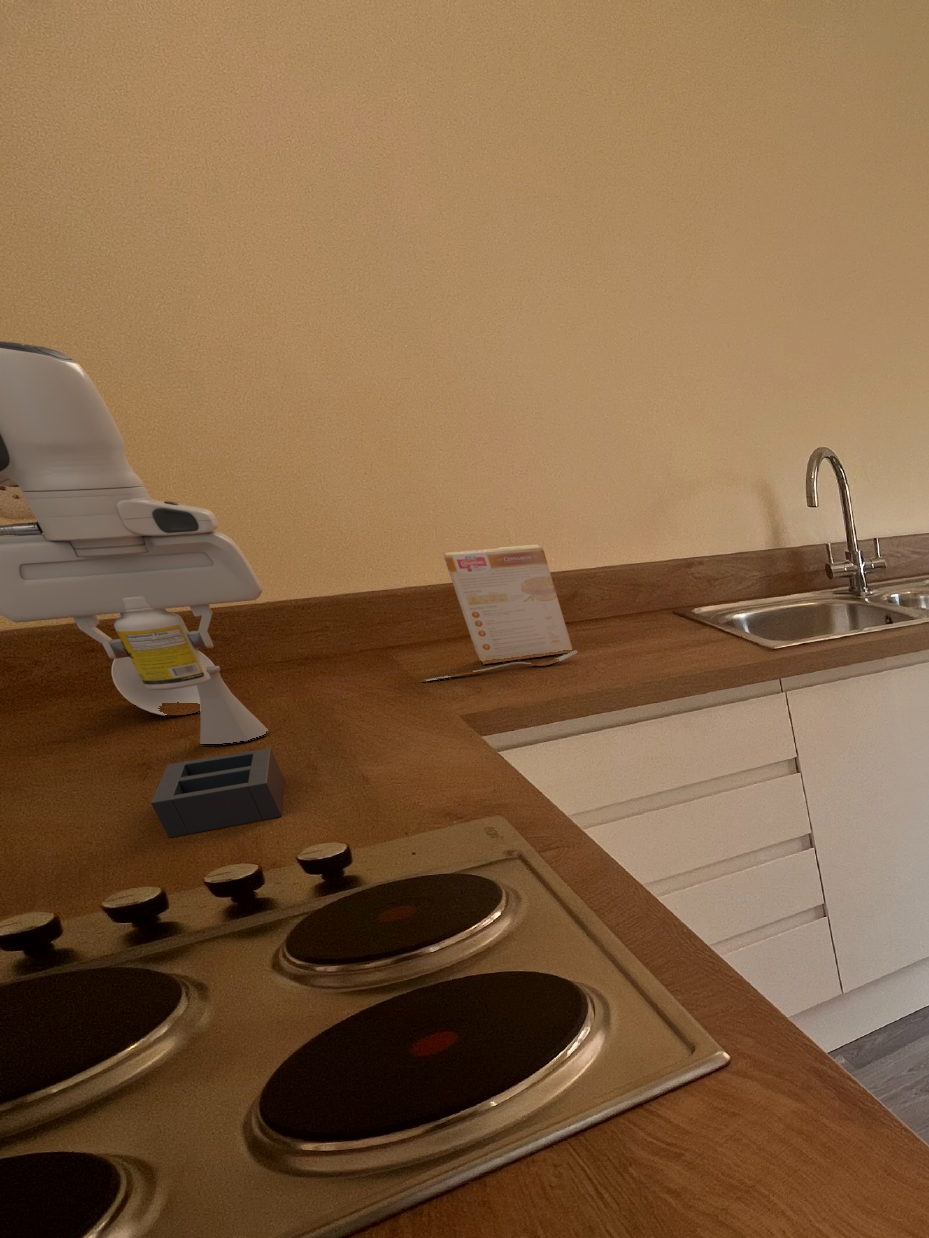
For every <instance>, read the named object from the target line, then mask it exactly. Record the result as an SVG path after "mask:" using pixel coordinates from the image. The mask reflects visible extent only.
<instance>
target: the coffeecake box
mask: <svg viewBox="0 0 929 1238" xmlns="http://www.w3.org/2000/svg"><path fill="white" fill-rule="evenodd" d="M543 547H544V546H540V545H539V544H535V543H534V544H526V545H525V544H524V545H514V546H513V545H512V546H499V547H487V548H486V547H485V548H475V549H474V548H473V549H463V550H450V551H449V550H448V551H442V556H443V558H444V562H445V564H446V567H447V568H446V569H447V570H448V573H449V575H450V579H451V582H452V585H453V588H454V591H455V594H456V597H457V600H458V603H459V607H460V609H461V612H462V615H463V618H464V620H465V624H466V627H467V630H468V633H469V635H470V636H469V637H470V638H471V642H472V644H473V647H474V650H475V653H476V656H477V655H478V656H477V658H478V657H479V658H478V660H479V659H480V660H481V661H485V660H492V659H504V658H511V657H522V656H526V655H533V654H545V653H549V652H558V651H563V650H572V649H573V645H572V642H571V637H570V634H569V631H568V628H567V625H566V622H565V619H564V615H563V612H562V608H561V605H560V602H559V598H558V595H557V590H556V588H555V584H554V582H553V578H552V575H551V571H550V568H549V564H548V560H547V557H546V554H545V550H544V548H543ZM573 650H574V649H573ZM480 660H479V661H480Z"/></svg>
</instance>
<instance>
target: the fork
mask: <svg viewBox="0 0 929 1238" xmlns="http://www.w3.org/2000/svg"><path fill="white" fill-rule="evenodd" d="M578 654H579V651H578V650H576V649H575V650H574V649H573V651H572V652H570V653H568V654H563V655H560V656H558V657H555V659H559V661H560V662H563V661H565V660H567V659H569V658H571V657H574V656H575V655H578ZM557 661H558V660H557ZM531 663H532V662H524V661H513V662H507V663H505V664H500V665H495V666H491V667H486V668H482V669H477V670H472V671H473V672H477V671H483V672H487V671H490V670H489V669H492V670H495V669H494V668H496V669H499V668H503V667H508V666H512V665H527V664H531ZM486 670H487V671H486ZM443 676H444V677H443ZM443 676H438V677H432V678H427V679H425V680H426V681H430V680H437V679H438V678H448V677H451V676H448V675H443ZM436 678H437V679H436Z"/></svg>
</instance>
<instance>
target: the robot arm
mask: <svg viewBox="0 0 929 1238" xmlns="http://www.w3.org/2000/svg"><path fill="white" fill-rule="evenodd" d="M0 487H9V488H11V487H12V488H19V489H20V491H21V493H22V495H23V497H24V499H25V501H26V502H27V505H28V506H29V508H30V510H31V513H32V514H33V516H34V518H35V520H36V521H35V522H18V523H16V522H15V523H11V524H10V523H9V524H4V525H3V524H0V616H1V617H3V618H5V619H6V620H9V621H11V622H13V623H29V622H38V621H49V620H60V619H71V618H73V620H74V622H75V624H76V626H77V629H79V630H80V631H82V632H83V633H85V634H86V635H87V636H89V637H90V638H92V639H94V640H95V641H96V642H98V643H99V644H101V645H102V646H103V648H104V651H105V652H106V654H107V656H108V658H109V659H110V660H114V659H117V658H124V657H130V656H129V655H128V653H127V651H126V649H125V647H124V645H123V643H122V641H121V639H120V638H116V639H114V638H112V637H110V636H109V635H108V634H106V633H105V632H103V631H102V630H100V628H98V627H97V626H98V625H99V624H100V620H99V619H98V616H102V615H103V616H104V615H112V614H120V613H124V612H125V611H126V610H127V609H125V604H124V601H123V598H129V597H144V598H145V601H146V603H147V604H148V605H150V608H153V609H152V610H156V609H165V610H166V609H177V608H186V607H189V608H190V611H191V612H192V615H193V616H194V617H201V618H200V622H199V626H198V629H197V630H192V631H191V630H190V631H189V633H188V635H189V637H190V640H192V641H193V646H194V648H195V649H197V650H203V649H213V648H214V643H213V640H212V638H211V636H210V634H209V632H208V630H209V628H210V625H211V620H212V616H213V611H212V608H211V605H219V604H230V603H239V602H240V603H241V602H251V601H256V600H258V599H259V597H260V596H261V595H262V592H263V588H262V585H261V582H260V581H259V579H258V577H257V574H256V573H255V571H254V569H253V567H252V565H251V564H250V561H248V559H247V557H246V555H245V554H244V552H243V551H242V550H241V548H240V546H239V545H238V544H237V543H236V542H235V541H234V540H233V539H232V538H231V537H230V536H228V535H227V534H225V533H223V532H220V531H217V529H218V527H219V522H218V519H217V517H216V515H215V514H214V513H213V511H211V510H209V509H207V508H204V507H200V506H199V507H198V506H192V505H189V504H188V505H187V504H181V503H178V502H176V501H172V500H171V501H170V500H166V501H165V500H157V499H153V498H152V496H150V495H149V492H148V490H147V488H146V486H145V484H144V482H143V481H142V479H141V478H140V477H139V476H138V474H137V472H135V470H133V468H132V466H131V464H130V463H129V461H128V458H127V455H126V449H125V441H124V438H123V436H122V434H121V432H120V429H119V428H118V426H117V423H116V421H115V419H114V418H113V415H112V413H111V412H110V410H109V408H108V405H107V404H106V402H105V400H104V398H103V396H102V395H101V393H100V392H99V390H98V388H97V387H96V385H95V383H94V382H93V380H92V378H91V377H90V376H89V374H88V373H87V372H86V371H85V369H84V368H83V367H82V366H81V365H80V364H79V363H78V361H76V360H75V359H74V358H72V357H70V356H68V355H67V354H65V353H64V352H61V351H58V350H56V349H53V348H49V347H45V346H39V345H32V344H26V343H20V342H19V343H18V342H14V341H13V342H12V341H4V340H3V341H2V340H0Z"/></svg>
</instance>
